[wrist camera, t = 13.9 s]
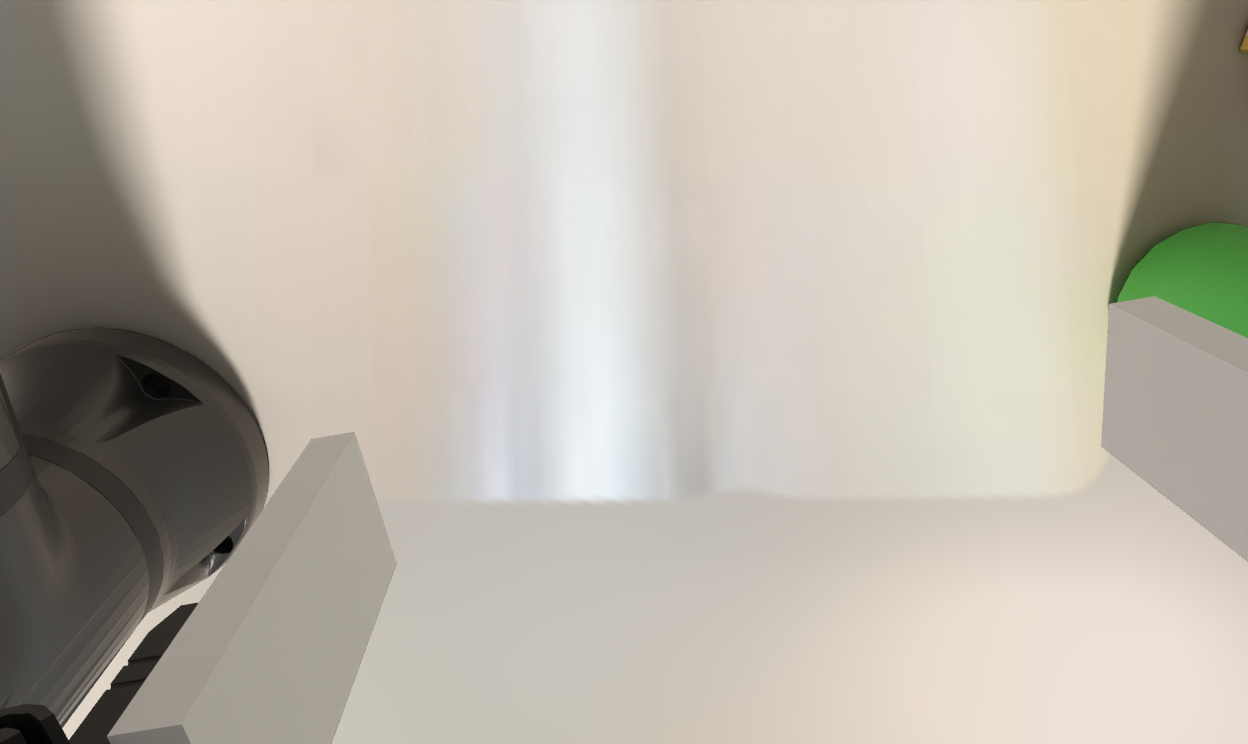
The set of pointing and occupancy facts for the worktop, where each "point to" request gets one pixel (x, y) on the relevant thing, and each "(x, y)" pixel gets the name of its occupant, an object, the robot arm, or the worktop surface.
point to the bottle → (1198, 274)
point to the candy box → (1245, 44)
